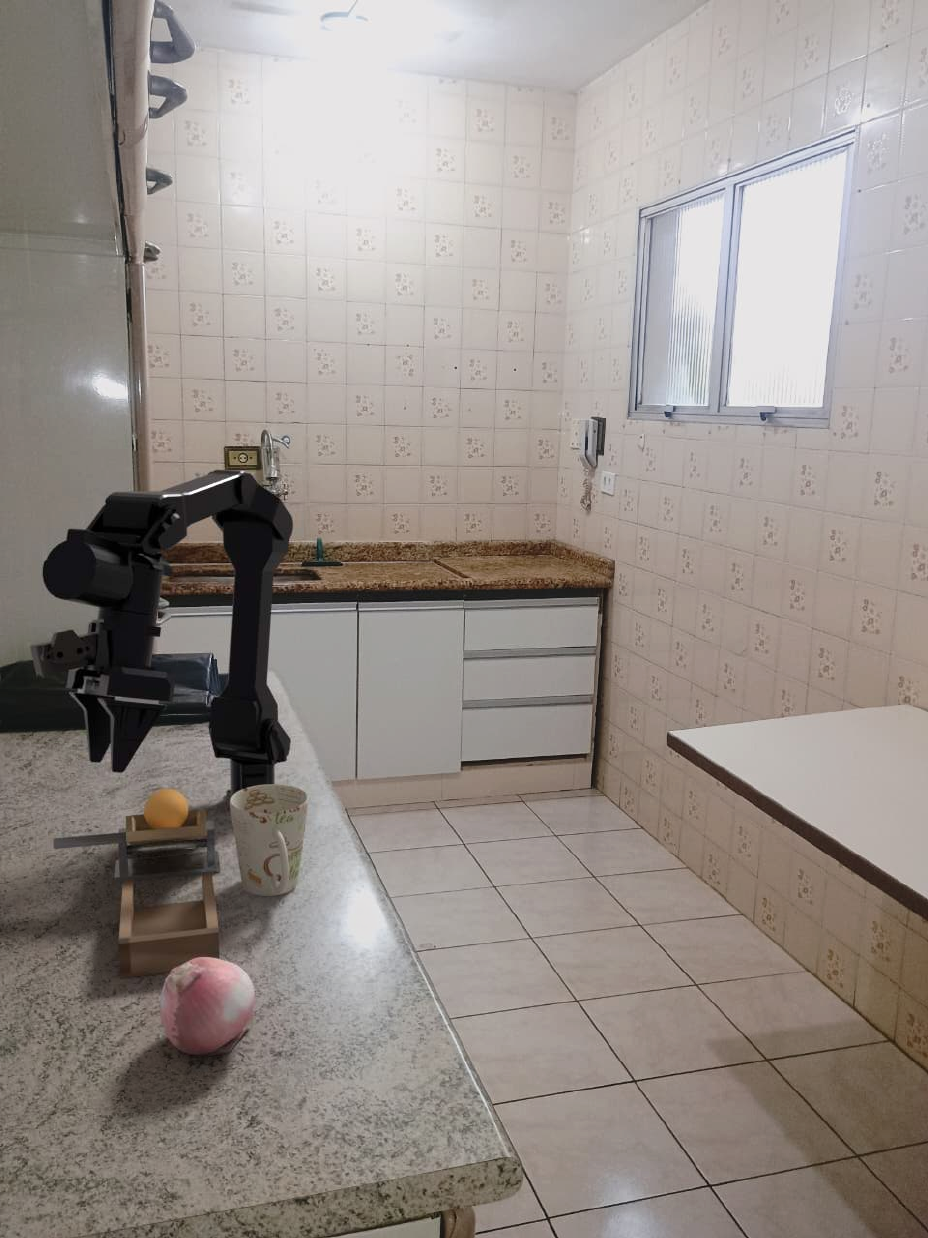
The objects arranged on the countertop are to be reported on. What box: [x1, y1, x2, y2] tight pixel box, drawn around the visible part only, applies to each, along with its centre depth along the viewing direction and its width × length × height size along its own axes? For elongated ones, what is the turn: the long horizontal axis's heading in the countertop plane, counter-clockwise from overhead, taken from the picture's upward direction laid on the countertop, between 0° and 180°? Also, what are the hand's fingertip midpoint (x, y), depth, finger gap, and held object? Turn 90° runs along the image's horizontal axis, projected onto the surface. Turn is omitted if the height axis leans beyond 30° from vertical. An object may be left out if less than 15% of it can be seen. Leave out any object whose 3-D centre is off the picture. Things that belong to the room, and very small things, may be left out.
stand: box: [113, 820, 221, 884], centre depth 111 cm, size 4×11×5 cm, turn 107°
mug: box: [229, 783, 309, 897], centre depth 106 cm, size 8×13×10 cm, turn 25°
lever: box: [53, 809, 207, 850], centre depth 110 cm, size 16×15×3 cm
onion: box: [159, 957, 256, 1058], centre depth 81 cm, size 8×8×7 cm
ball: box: [143, 788, 189, 829], centre depth 116 cm, size 5×5×5 cm
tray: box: [118, 873, 220, 979], centre depth 97 cm, size 13×9×3 cm
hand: (105, 767), depth 100 cm, fingers open, 9 cm apart
